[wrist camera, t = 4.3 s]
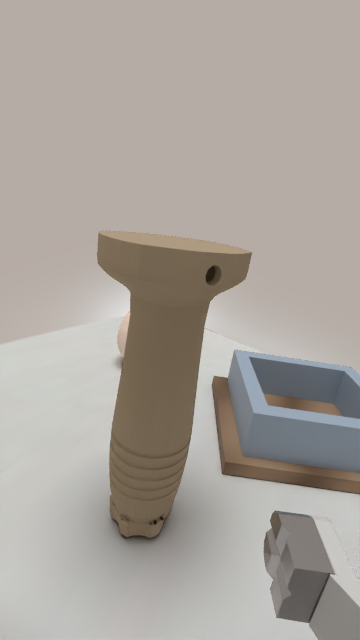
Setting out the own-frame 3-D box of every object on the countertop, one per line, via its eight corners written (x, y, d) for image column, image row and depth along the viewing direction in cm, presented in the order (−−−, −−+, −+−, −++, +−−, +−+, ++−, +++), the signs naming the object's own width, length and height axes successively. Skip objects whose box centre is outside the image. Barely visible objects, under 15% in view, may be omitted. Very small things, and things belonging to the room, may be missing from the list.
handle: (211, 524, 18) (274, 256, 13) (102, 589, 14) (138, 247, 10) (164, 466, 22) (201, 238, 17) (67, 506, 18) (80, 227, 13)
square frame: (340, 398, 32) (351, 367, 31) (405, 479, 22) (424, 438, 21) (227, 381, 32) (234, 349, 31) (242, 456, 22) (253, 413, 21)
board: (346, 404, 33) (349, 396, 33) (425, 503, 22) (431, 492, 22) (212, 384, 33) (213, 375, 33) (222, 473, 22) (225, 461, 22)
